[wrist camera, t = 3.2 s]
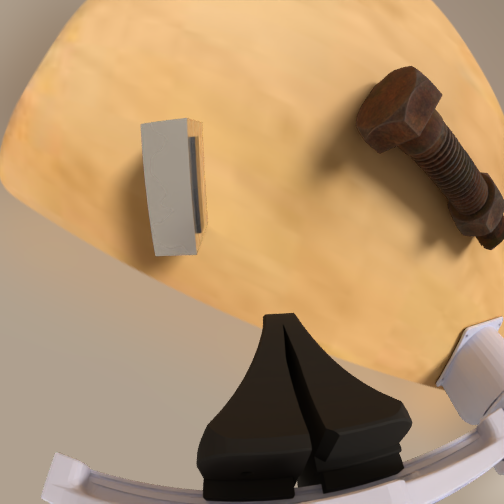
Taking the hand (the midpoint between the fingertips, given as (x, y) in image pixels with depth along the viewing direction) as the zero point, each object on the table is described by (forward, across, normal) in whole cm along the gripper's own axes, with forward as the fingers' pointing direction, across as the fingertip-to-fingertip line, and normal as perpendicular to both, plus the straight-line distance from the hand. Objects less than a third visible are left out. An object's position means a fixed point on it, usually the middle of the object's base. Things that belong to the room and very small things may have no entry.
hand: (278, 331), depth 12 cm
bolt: (+7, -12, -7) cm, 16 cm away
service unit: (+6, +4, -6) cm, 10 cm away
